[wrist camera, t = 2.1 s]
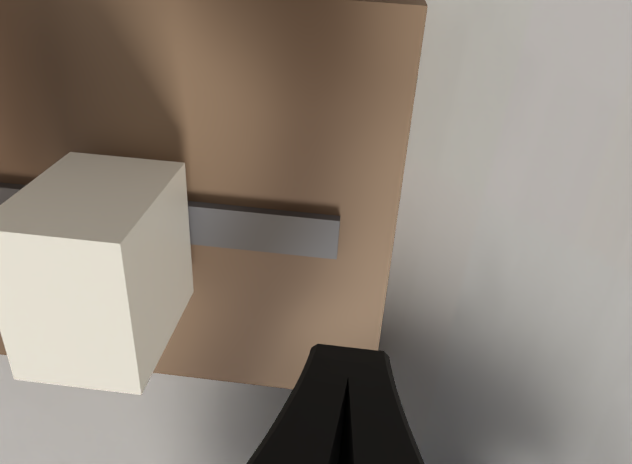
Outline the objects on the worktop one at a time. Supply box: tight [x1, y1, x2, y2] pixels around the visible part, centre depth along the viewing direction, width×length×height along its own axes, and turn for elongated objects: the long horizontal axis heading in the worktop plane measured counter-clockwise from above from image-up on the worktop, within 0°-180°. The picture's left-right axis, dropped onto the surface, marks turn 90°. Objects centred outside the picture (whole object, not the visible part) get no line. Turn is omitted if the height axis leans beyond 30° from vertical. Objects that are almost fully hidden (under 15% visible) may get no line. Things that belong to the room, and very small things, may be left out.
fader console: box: [0, 0, 427, 389], centre depth 17 cm, size 22×12×2 cm, turn 87°
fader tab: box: [0, 152, 194, 395], centre depth 14 cm, size 3×4×4 cm
